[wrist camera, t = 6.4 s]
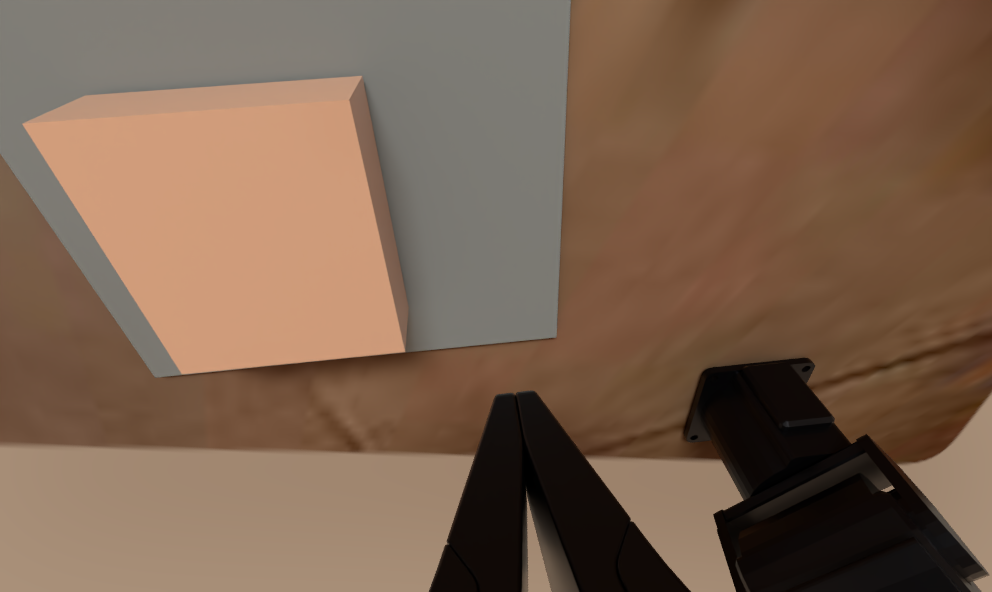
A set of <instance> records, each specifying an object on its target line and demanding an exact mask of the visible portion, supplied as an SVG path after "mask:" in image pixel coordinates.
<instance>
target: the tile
mask: <svg viewBox="0 0 992 592" xmlns="http://www.w3.org/2000/svg"><path fill="white" fill-rule="evenodd" d="M22 125H23V126H24V128H25V129H26V131H27V132H28V134H29V136H30V137H31V139H32V140H33V142H34V143H35V145H36V146H37V148H38V150H39V151H40V153H41V154H42V156H43V157H44V159H45V161H46V162H47V164H48V165H49V167H50V168H51V170H52V172H53V173H54V175H55V176H56V178H57V179H58V181H59V183H60V184H61V186H62V187H63V189H64V190H65V192H66V193H67V195H68V197H69V198H70V200H71V201H72V203H73V204H74V206H75V208H76V209H77V211H78V212H79V214H80V215H81V217H82V219H83V220H84V222H85V223H86V225H87V226H88V228H89V230H90V231H91V233H92V234H93V236H94V237H95V239H96V240H97V242H98V244H99V245H100V247H101V248H102V250H103V251H104V253H105V255H106V256H107V258H108V259H109V261H110V262H111V264H112V266H113V267H114V269H115V270H116V272H117V273H118V275H119V277H120V278H121V280H122V281H123V283H124V284H125V286H126V287H127V289H128V291H129V292H130V294H131V295H132V297H133V298H134V300H135V302H136V303H137V305H138V306H139V308H140V309H141V311H142V313H143V314H144V316H145V317H146V319H147V320H148V322H149V324H150V325H151V327H152V328H153V330H154V331H155V333H156V335H157V336H158V338H159V339H160V341H161V342H162V344H163V345H164V347H165V349H166V350H167V352H168V353H169V355H170V356H171V358H172V360H173V361H174V363H175V364H176V366H177V367H178V369H179V371H180V372H181V374H191V373H201V372H211V371H221V370H231V369H241V368H251V367H260V366H270V365H280V364H290V363H300V362H310V361H320V360H330V359H340V358H350V357H360V356H370V355H380V354H390V353H400V352H405V347H406V335H407V322H408V309H409V306H408V301H407V296H406V291H405V286H404V281H403V276H402V271H401V266H400V261H399V256H398V251H397V246H396V241H395V236H394V231H393V226H392V221H391V216H390V211H389V206H388V201H387V196H386V191H385V186H384V181H383V176H382V171H381V166H380V161H379V156H378V151H377V146H376V141H375V136H374V131H373V126H372V121H371V116H370V111H369V106H368V101H367V96H366V91H365V86H364V81H363V76H352V77H338V78H324V79H310V80H296V81H282V82H267V83H253V84H239V85H225V86H211V87H197V88H183V89H169V90H154V91H140V92H126V93H112V94H98V95H85V96H83V97H81V98H79V99H76V100H74V101H72V102H70V103H67V104H65V105H63V106H61V107H58V108H56V109H54V110H52V111H49V112H47V113H45V114H43V115H40V116H38V117H36V118H34V119H31V120H29V121H27V122H25V123H22Z"/></svg>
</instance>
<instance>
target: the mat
mask: <svg viewBox="0 0 992 592" xmlns="http://www.w3.org/2000/svg"><path fill="white" fill-rule="evenodd" d="M570 5H571V0H0V154H1V155H2V157H3V158H4V160H5V161H6V163H7V164H8V165H9V167H10V168H11V170H12V171H13V173H14V174H15V176H16V177H17V178H18V180H19V181H20V183H21V184H22V186H23V187H24V189H25V190H26V191H27V193H28V194H29V196H30V197H31V199H32V200H33V202H34V203H35V205H36V206H37V207H38V209H39V210H40V212H41V213H42V215H43V216H44V218H45V219H46V220H47V222H48V223H49V225H50V226H51V228H52V229H53V231H54V232H55V233H56V235H57V236H58V238H59V239H60V241H61V242H62V244H63V245H64V246H65V248H66V249H67V251H68V252H69V254H70V255H71V257H72V258H73V259H74V261H75V262H76V264H77V265H78V267H79V268H80V270H81V271H82V273H83V274H84V275H85V277H86V278H87V280H88V281H89V283H90V284H91V286H92V287H93V288H94V290H95V291H96V293H97V294H98V296H99V297H100V299H101V300H102V301H103V303H104V304H105V306H106V307H107V309H108V310H109V312H110V313H111V314H112V316H113V317H114V319H115V320H116V322H117V323H118V325H119V326H120V327H121V329H122V330H123V332H124V333H125V335H126V336H127V338H128V339H129V341H130V342H131V343H132V345H133V346H134V348H135V349H136V351H137V352H138V354H139V355H140V356H141V358H142V359H143V361H144V362H145V364H146V365H147V367H148V368H149V369H150V371H151V372H152V374H153V375H154V377H155V378H156V377H166V376H176V375H186V374H181V372H180V371H179V369H178V367H177V366H176V364H175V363H174V361H173V360H172V358H171V356H170V355H169V353H168V352H167V350H166V349H165V347H164V345H163V344H162V342H161V341H160V339H159V338H158V336H157V335H156V333H155V331H154V330H153V328H152V327H151V325H150V324H149V322H148V320H147V319H146V317H145V316H144V314H143V313H142V311H141V309H140V308H139V306H138V305H137V303H136V302H135V300H134V298H133V297H132V295H131V294H130V292H129V291H128V289H127V287H126V286H125V284H124V283H123V281H122V280H121V278H120V277H119V275H118V273H117V272H116V270H115V269H114V267H113V266H112V264H111V262H110V261H109V259H108V258H107V256H106V255H105V253H104V251H103V250H102V248H101V247H100V245H99V244H98V242H97V240H96V239H95V237H94V236H93V234H92V233H91V231H90V230H89V228H88V226H87V225H86V223H85V222H84V220H83V219H82V217H81V215H80V214H79V212H78V211H77V209H76V208H75V206H74V204H73V203H72V201H71V200H70V198H69V197H68V195H67V193H66V192H65V190H64V189H63V187H62V186H61V184H60V183H59V181H58V179H57V178H56V176H55V175H54V173H53V172H52V170H51V168H50V167H49V165H48V164H47V162H46V161H45V159H44V157H43V156H42V154H41V153H40V151H39V150H38V148H37V146H36V145H35V143H34V142H33V140H32V139H31V137H30V136H29V134H28V132H27V131H26V129H25V128H24V126H23V125H22V123H25V122H27V121H29V120H31V119H34V118H36V117H38V116H40V115H43V114H45V113H47V112H49V111H52V110H54V109H56V108H58V107H61V106H63V105H65V104H67V103H70V102H72V101H74V100H76V99H79V98H81V97H83V96H85V95H98V94H112V93H126V92H140V91H154V90H169V89H183V88H197V87H211V86H225V85H239V84H253V83H267V82H282V81H296V80H310V79H324V78H338V77H352V76H363V81H364V86H365V91H366V96H367V101H368V106H369V111H370V116H371V121H372V126H373V131H374V136H375V141H376V146H377V151H378V156H379V161H380V166H381V171H382V176H383V181H384V186H385V191H386V196H387V201H388V206H389V211H390V216H391V221H392V226H393V231H394V236H395V241H396V246H397V251H398V256H399V261H400V266H401V271H402V276H403V281H404V286H405V291H406V296H407V301H408V306H409V309H408V322H407V335H406V347H405V352H415V351H425V350H435V349H445V348H455V347H465V346H475V345H485V344H495V343H505V342H515V341H525V340H535V339H545V338H555V337H556V336H557V312H558V288H559V265H560V241H561V218H562V194H563V170H564V147H565V123H566V100H567V76H568V53H569V29H570ZM405 352H400V353H405ZM390 354H395V353H390ZM380 355H385V354H380ZM370 356H375V355H370ZM360 357H365V356H360ZM350 358H355V357H350ZM340 359H345V358H340ZM330 360H335V359H330ZM320 361H325V360H320ZM310 362H316V361H310ZM300 363H306V362H300ZM290 364H296V363H290ZM280 365H286V364H280ZM270 366H276V365H270ZM260 367H266V366H260ZM251 368H256V367H251ZM241 369H246V368H241ZM231 370H236V369H231ZM221 371H226V370H221ZM211 372H216V371H211ZM201 373H206V372H201ZM191 374H196V373H191Z"/></svg>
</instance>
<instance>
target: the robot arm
mask: <svg viewBox="0 0 992 592" xmlns="http://www.w3.org/2000/svg"><path fill="white" fill-rule="evenodd" d="M814 368H815V365H814V363H813V362H812V361H811V360H810V359H809V358H799V359H789V360H780V361H770V362H761V363H751V364H742V365H732V366H723V367H713V368H709V369H707V370H706V371H705V372H704V373H703V374H702V378H701V381H700V384H699V387H698V390H697V394H696V397H695V400H694V403H693V406H692V410H691V413H690V416H689V419H688V422H687V426H686V429H685V432H684V436H685V438H686V440H687V441H688V442H701V441H710V440H711V441H712V443H713V445H714V446H715V448H716V450H717V452H718V454H719V456H720V457H721V459H722V461H723V463H724V465H725V467H726V468H727V470H728V472H729V474H730V476H731V478H732V479H733V481H734V483H735V485H736V487H737V489H738V491H739V492H740V494H741V496H742V498H743V500H744V501H742V502H740V503H738V504H736V505H734V506H732V507H730V508H728V509H726V510H720V511H718V512H717V513H715V514H713V515H714V519H715V522H716V525H717V528H718V529H717V532H718V536H719V539H720V541H721V545H722V548H723V551H724V554H725V557H726V561H727V564H728V567H729V570H730V573H731V577H732V579H733V583H734V586H735V589H736V592H981V590H980V589H979V588H978V587H977V586H976V584H975V583H974V582H973V581H975V580H978V579H981V578H983V577H986V576H989V574H988V572H987V571H986V569H985V568H984V567H983V566H982V564H981V563H980V562H979V561H978V560H977V558H976V557H975V556H974V555H973V554H972V552H971V551H970V550H969V548H968V547H967V546H966V545H965V543H964V542H963V541H962V540H961V538H960V537H959V536H958V535H957V534H956V532H955V531H954V530H953V529H952V528H951V526H950V525H949V524H948V522H947V521H946V520H945V519H944V518H943V516H942V515H941V514H940V513H939V512H938V510H937V509H936V508H935V506H934V505H933V504H932V503H931V502H930V501H929V500H928V498H927V497H926V496H925V495H924V494H923V493H922V492H921V491H920V489H919V488H918V487H917V486H916V485H915V484H914V483H913V482H912V481H911V479H910V478H909V477H908V476H907V475H906V474H905V473H904V471H903V470H902V469H901V468H900V467H899V466H898V465H897V464H896V463H895V462H894V461H893V460H892V459H891V458H890V457H889V456H888V455H887V454H886V453H885V452H884V451H883V450H882V449H881V448H880V447H879V446H878V445H877V444H876V443H875V442H874V441H873V440H872V439H871V438H870V437H869V436H868V435H867V434H865V435H863V436H862V437H860V438H858V439H856V440H857V442H855V443H853V444H851V443H850V442H849V441H848V439H847V438H846V437H845V436H844V434H843V433H842V432H841V431H840V430H839V428H838V427H837V426H836V425H835V423H834V420H835V419H834V417H833V416H832V414H831V413H830V412H829V411H828V409H827V408H826V407H825V406H824V405H823V403H822V402H821V401H820V400H819V399H818V397H817V396H816V395H815V394H814V393H813V391H812V390H811V389H810V388H809V387H808V385H807V382H808V380H809V378H810V376H811V374H812V372H813V370H814ZM891 485H892V486H893V487H894V488H895V489H893V490H891V491H889V492H884V491H881V490H883V489H885V488H887V487H889V486H891ZM526 491H527V497H528V501H529V506H530V510H531V513H532V518H533V521H534V525H535V529H536V533H537V537H538V541H539V544H540V548H541V552H542V556H543V560H544V564H545V568H546V572H547V575H548V579H549V583H550V587H551V591H552V592H691V591H690V590H689V589H688V588H687V587H686V586H685V585H684V584H683V582H682V581H681V580H680V579H679V578H678V577H677V576H676V574H675V573H674V572H673V571H672V570H671V569H670V568H669V567H668V566H667V564H666V563H665V562H664V561H663V559H662V558H661V557H660V556H659V554H658V553H657V552H656V551H655V549H654V548H653V547H652V546H651V544H650V543H649V542H648V540H647V539H646V538H645V537H644V535H643V534H642V533H641V532H640V530H639V529H638V527H637V526H636V525H635V523H634V522H630V520H631V519H630V517H629V516H628V514H627V513H626V512H625V510H624V509H623V508H622V506H621V505H620V504H619V502H618V501H617V500H616V498H615V497H614V496H613V494H612V493H611V492H610V490H609V489H608V488H607V486H606V485H605V484H604V482H603V481H602V480H601V478H600V477H599V476H598V474H597V473H596V472H595V470H594V469H593V468H592V466H591V465H590V464H589V462H588V461H587V460H586V458H585V457H584V456H583V454H582V453H581V452H580V450H579V449H578V448H577V446H576V445H575V444H574V442H573V441H572V440H571V438H570V437H569V436H568V434H567V433H566V432H565V430H564V429H563V428H562V426H561V425H560V424H559V422H558V421H557V420H556V418H555V417H554V416H553V414H552V413H551V412H550V410H549V409H548V408H547V406H546V405H545V404H544V402H543V401H542V400H541V398H540V397H539V396H538V394H537V393H536V392H535V391H523V392H517V393H516V395H514V394H513V393H506V394H498V395H496V396H495V398H494V400H493V403H492V406H491V409H490V412H489V415H488V418H487V421H486V424H485V427H484V430H483V433H482V436H481V439H480V442H479V445H478V448H477V451H476V454H475V457H474V461H473V464H472V467H471V470H470V473H469V476H468V479H467V482H466V485H465V488H464V491H463V494H462V497H461V500H460V503H459V506H458V509H457V512H456V515H455V518H454V521H453V524H452V527H451V530H450V533H449V536H448V539H447V545H445V547H444V551H443V553H442V557H441V559H440V562H439V565H438V568H437V571H436V574H435V576H434V579H433V582H432V584H431V587H430V590H429V592H528V557H527V556H528V549H527V498H526Z"/></svg>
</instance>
